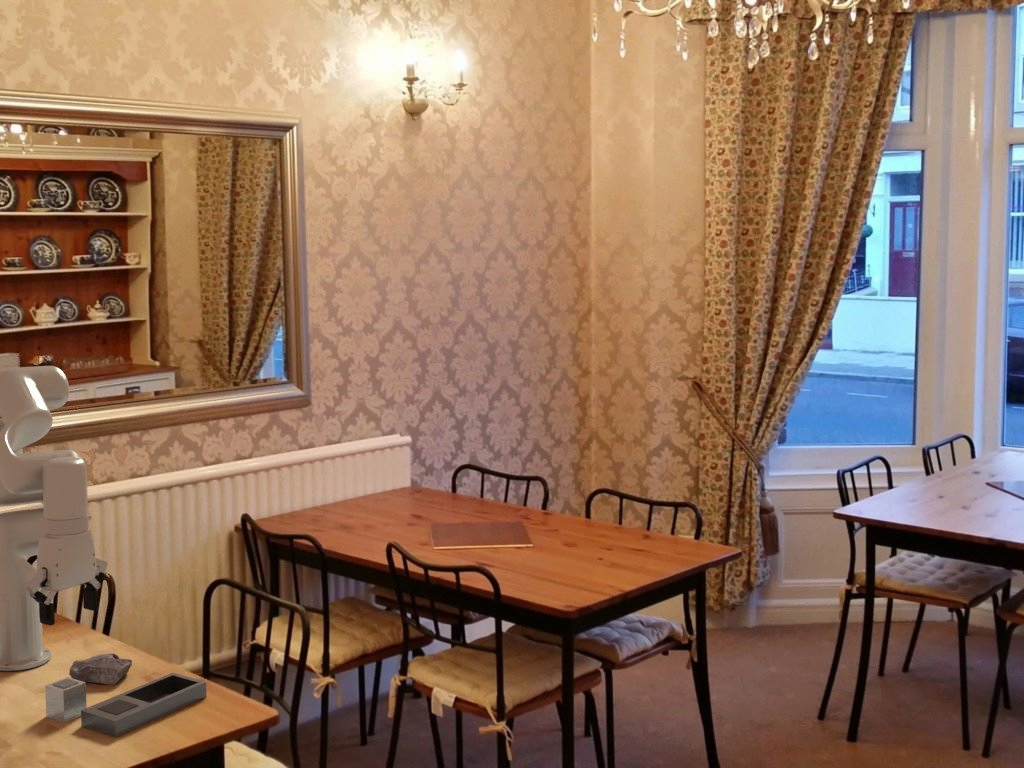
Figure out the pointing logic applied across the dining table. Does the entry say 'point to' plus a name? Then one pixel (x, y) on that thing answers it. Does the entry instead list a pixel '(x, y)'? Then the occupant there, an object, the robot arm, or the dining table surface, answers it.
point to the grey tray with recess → (143, 704)
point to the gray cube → (65, 699)
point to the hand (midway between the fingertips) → (69, 616)
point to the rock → (100, 669)
